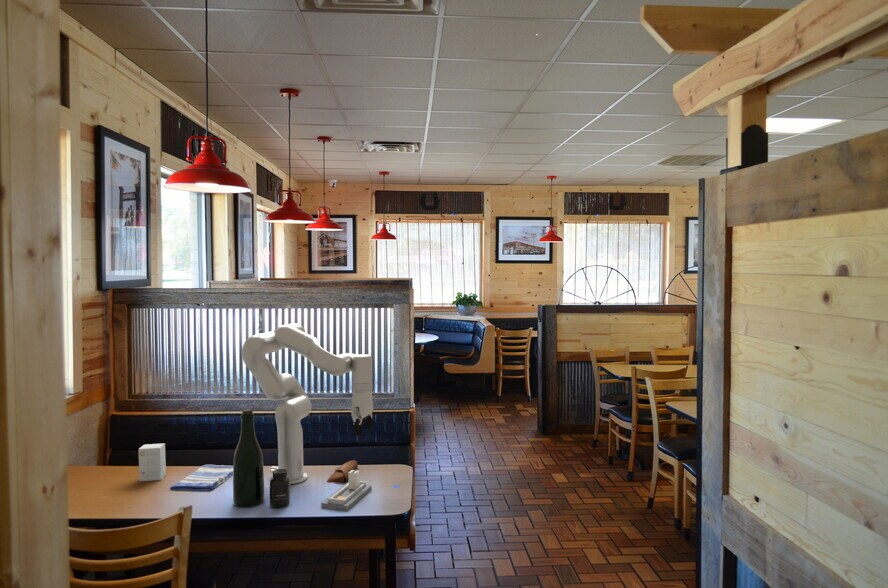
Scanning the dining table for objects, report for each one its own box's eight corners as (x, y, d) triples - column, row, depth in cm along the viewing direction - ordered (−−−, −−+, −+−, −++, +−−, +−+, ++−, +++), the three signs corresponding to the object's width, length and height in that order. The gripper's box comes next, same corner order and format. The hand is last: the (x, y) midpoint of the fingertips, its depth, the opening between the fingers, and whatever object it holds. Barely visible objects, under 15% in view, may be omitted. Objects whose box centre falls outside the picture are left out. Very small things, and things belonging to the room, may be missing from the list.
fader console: (347, 510, 190) (347, 501, 190) (321, 507, 193) (321, 498, 193) (371, 489, 209) (371, 481, 209) (347, 486, 212) (347, 478, 212)
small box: (166, 474, 226) (165, 443, 226) (160, 480, 220) (160, 447, 220) (144, 476, 225) (144, 444, 225) (138, 481, 219) (138, 448, 219)
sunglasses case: (338, 466, 234) (346, 453, 234) (352, 475, 234) (360, 462, 233) (325, 482, 216) (333, 468, 216) (340, 492, 216) (349, 478, 216)
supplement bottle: (279, 510, 191) (278, 475, 191) (265, 506, 195) (265, 472, 194) (294, 503, 197) (293, 469, 196) (280, 499, 200) (280, 466, 200)
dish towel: (241, 471, 232) (241, 464, 232) (212, 492, 208) (212, 485, 208) (202, 469, 234) (202, 463, 234) (168, 491, 210) (168, 483, 210)
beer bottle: (250, 494, 205) (249, 405, 204) (270, 500, 200) (269, 408, 199) (226, 504, 196) (225, 411, 195) (246, 510, 191) (245, 414, 190)
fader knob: (355, 489, 205) (355, 472, 205) (348, 488, 206) (348, 472, 205) (359, 486, 208) (359, 470, 207) (352, 485, 208) (352, 469, 208)
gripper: (363, 382, 223) (364, 425, 224) (343, 390, 206) (344, 437, 207) (380, 383, 221) (381, 426, 221) (361, 391, 204) (362, 438, 205)
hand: (363, 431), depth 214 cm, fingers open, 8 cm apart
